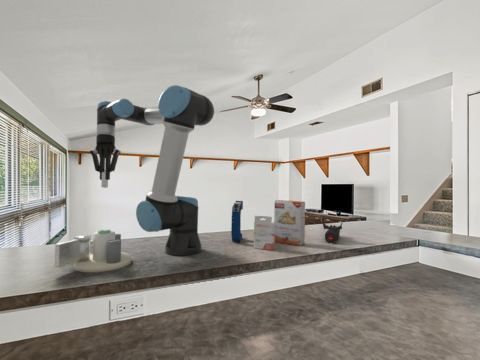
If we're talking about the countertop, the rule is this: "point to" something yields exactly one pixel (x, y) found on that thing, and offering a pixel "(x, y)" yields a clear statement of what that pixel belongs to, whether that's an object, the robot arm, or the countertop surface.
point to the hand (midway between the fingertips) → (104, 187)
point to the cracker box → (289, 222)
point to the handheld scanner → (236, 221)
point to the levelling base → (102, 264)
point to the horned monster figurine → (332, 232)
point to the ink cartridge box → (263, 233)
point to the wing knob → (73, 250)
